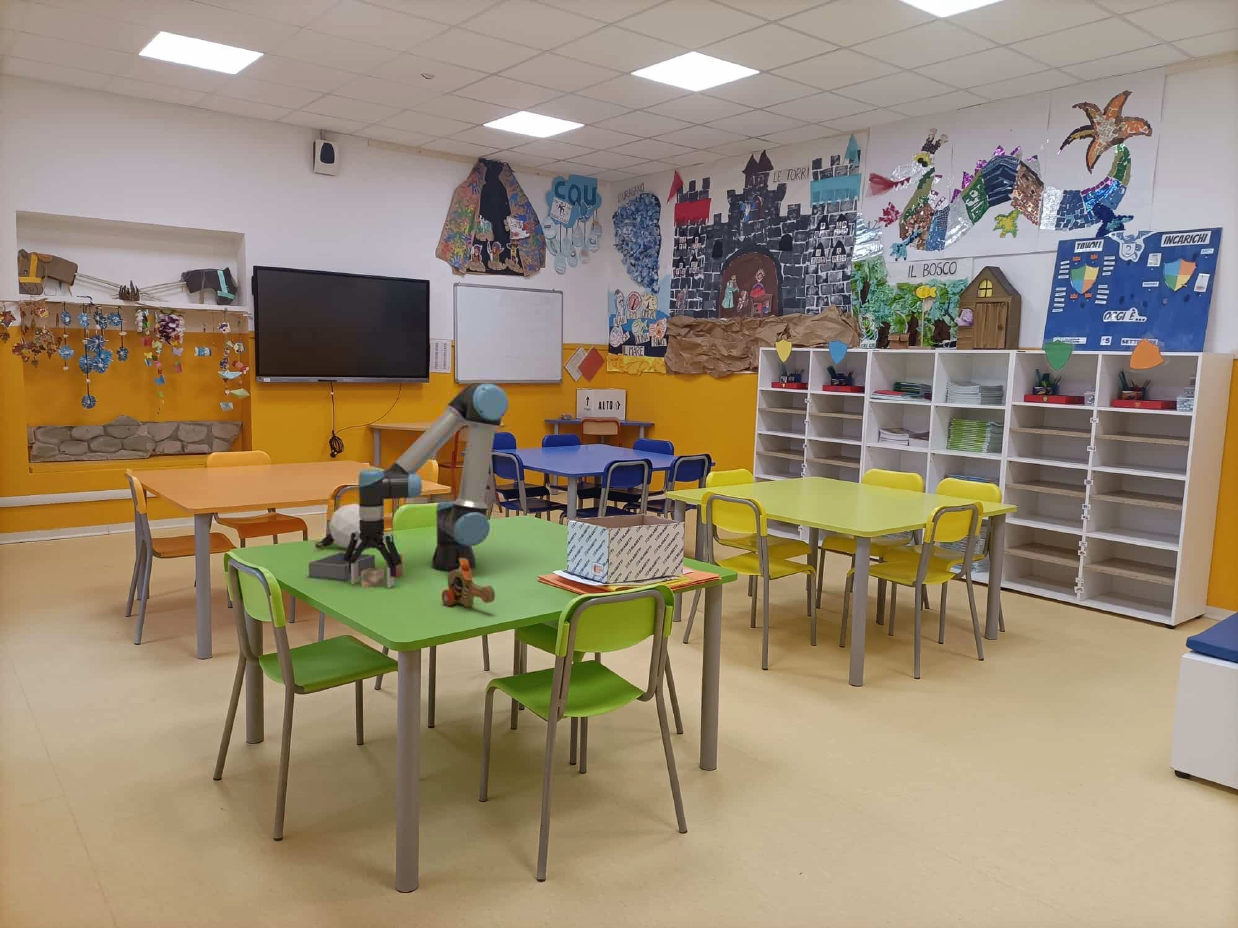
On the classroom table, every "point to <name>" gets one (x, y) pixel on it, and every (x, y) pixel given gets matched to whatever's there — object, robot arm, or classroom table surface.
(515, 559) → the classroom table surface
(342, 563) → the tote
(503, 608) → the classroom table surface
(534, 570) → the classroom table surface
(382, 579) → the wooden cube
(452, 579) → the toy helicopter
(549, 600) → the classroom table surface
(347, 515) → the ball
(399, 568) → the red cylinder
